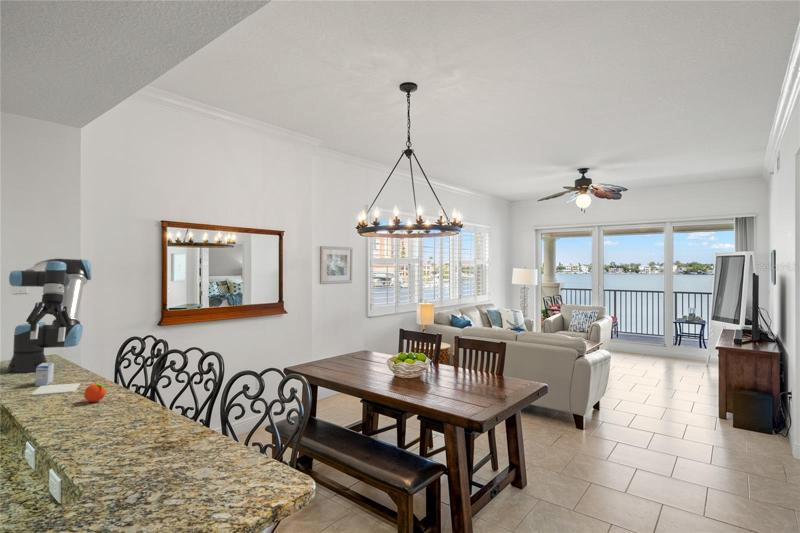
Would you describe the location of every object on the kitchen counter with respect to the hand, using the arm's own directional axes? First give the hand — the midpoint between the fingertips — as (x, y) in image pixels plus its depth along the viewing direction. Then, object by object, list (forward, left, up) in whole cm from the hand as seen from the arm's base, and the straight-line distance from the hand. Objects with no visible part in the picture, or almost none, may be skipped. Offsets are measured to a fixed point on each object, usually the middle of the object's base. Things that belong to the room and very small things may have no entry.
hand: (47, 340), depth 193 cm
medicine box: (+4, 0, -19) cm, 19 cm away
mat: (+17, +7, -19) cm, 26 cm away
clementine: (+42, +24, -19) cm, 52 cm away
